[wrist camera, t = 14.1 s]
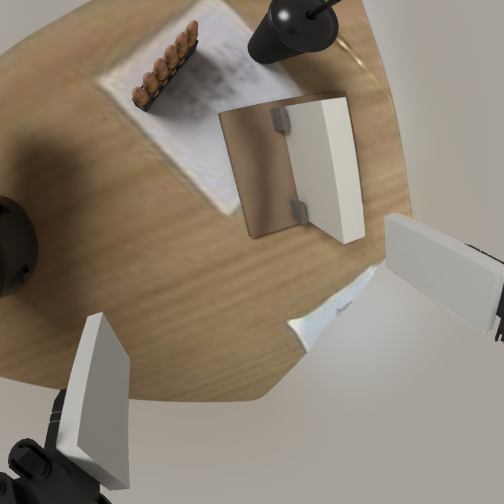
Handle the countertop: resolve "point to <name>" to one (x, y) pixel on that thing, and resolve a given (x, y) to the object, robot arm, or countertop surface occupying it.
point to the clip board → (267, 163)
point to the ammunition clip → (166, 67)
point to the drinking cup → (294, 29)
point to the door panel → (326, 167)
